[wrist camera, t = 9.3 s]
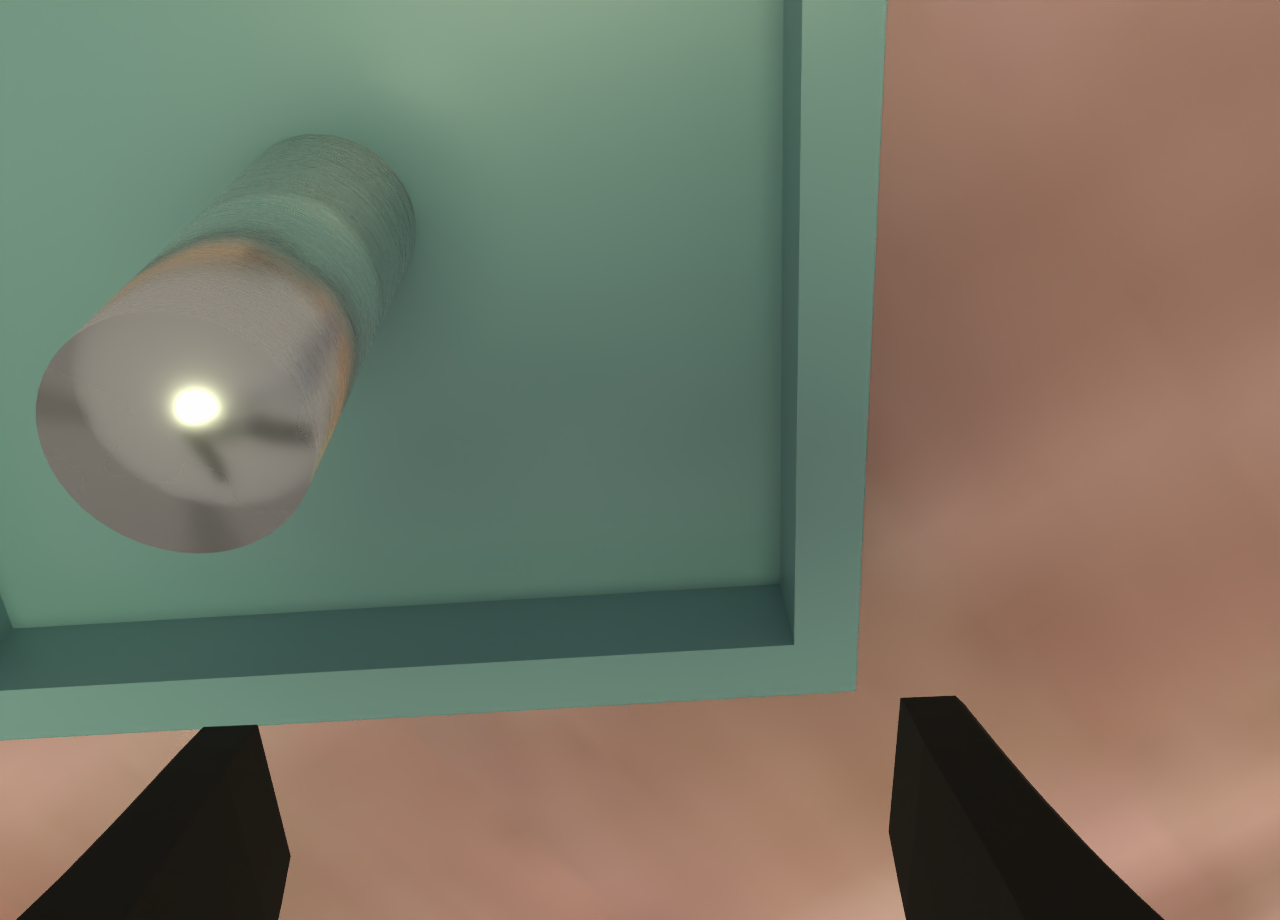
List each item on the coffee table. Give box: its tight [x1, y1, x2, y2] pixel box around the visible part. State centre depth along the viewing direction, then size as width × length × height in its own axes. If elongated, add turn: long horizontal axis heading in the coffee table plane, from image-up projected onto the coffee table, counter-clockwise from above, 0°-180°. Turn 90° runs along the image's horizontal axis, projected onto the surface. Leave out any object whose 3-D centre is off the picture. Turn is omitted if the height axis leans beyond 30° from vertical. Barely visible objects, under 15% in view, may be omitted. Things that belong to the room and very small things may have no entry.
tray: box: [0, 0, 887, 741], centre depth 19 cm, size 18×18×3 cm
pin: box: [36, 134, 416, 554], centre depth 16 cm, size 3×3×8 cm
